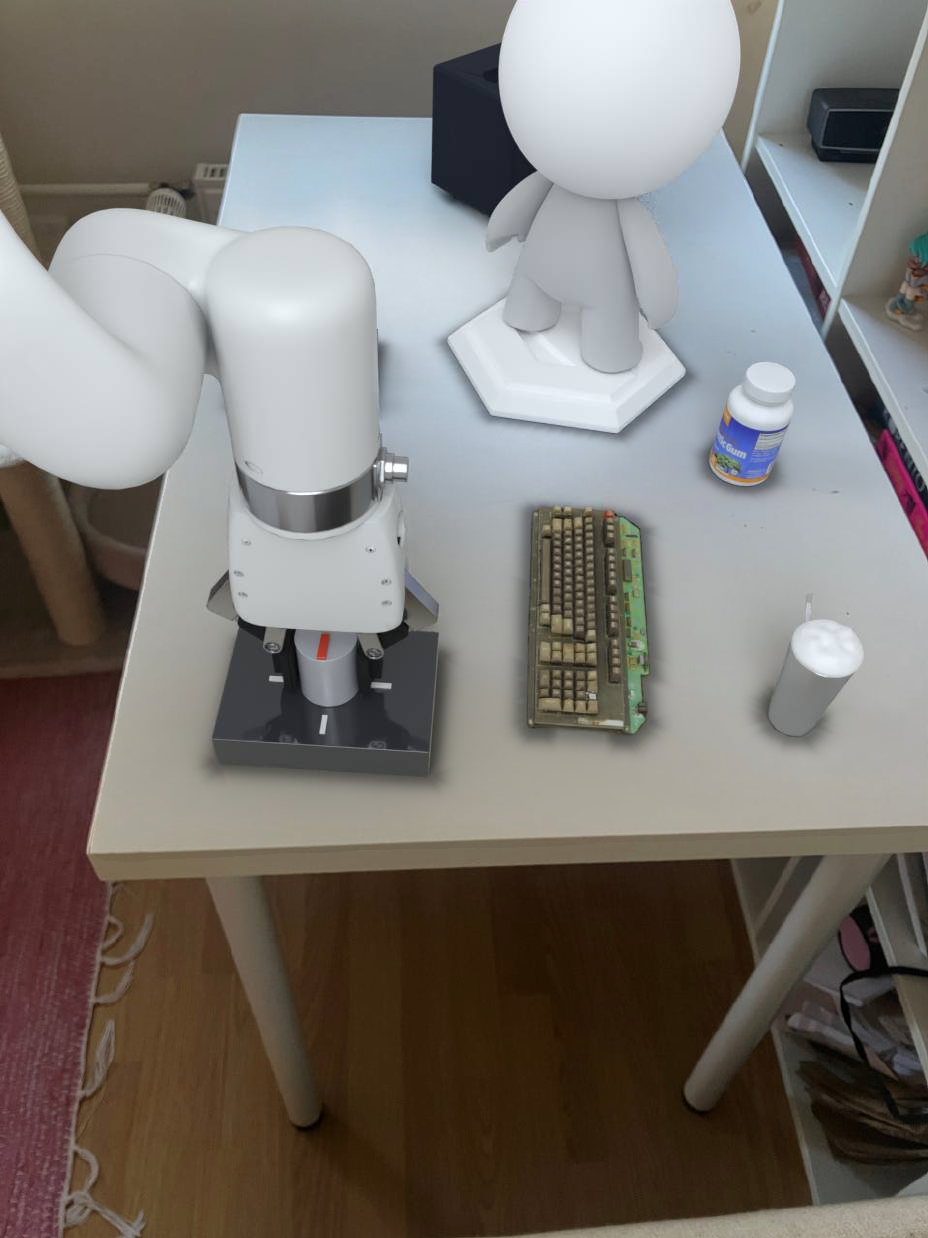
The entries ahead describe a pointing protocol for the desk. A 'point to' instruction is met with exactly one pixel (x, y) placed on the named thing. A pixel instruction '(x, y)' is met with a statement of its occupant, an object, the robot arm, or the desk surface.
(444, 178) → the speaker
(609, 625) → the keyboard
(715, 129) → the white cartoon figure
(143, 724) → the desk surface
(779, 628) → the desk surface
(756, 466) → the pill bottle
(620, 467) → the desk surface
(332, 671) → the hob knob
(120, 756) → the desk surface
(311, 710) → the panel
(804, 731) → the milkshake
